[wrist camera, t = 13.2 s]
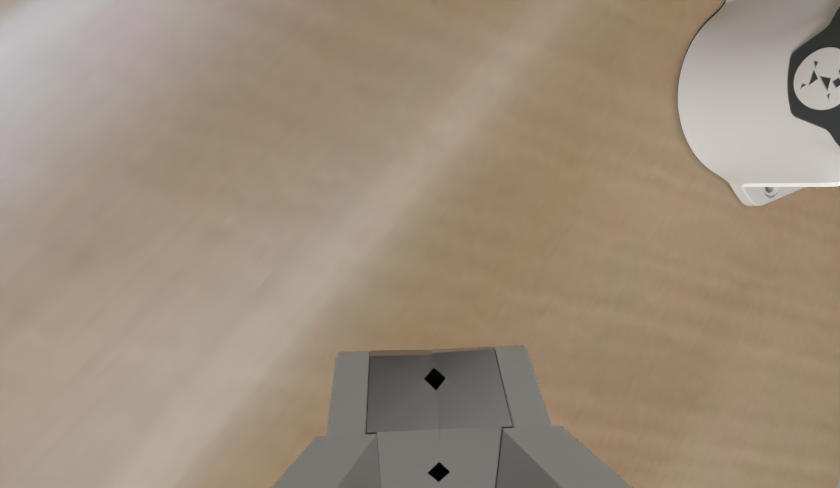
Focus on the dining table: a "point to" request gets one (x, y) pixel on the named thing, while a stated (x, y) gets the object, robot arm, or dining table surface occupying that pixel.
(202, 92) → the dining table surface
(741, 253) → the dining table surface
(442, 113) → the dining table surface
